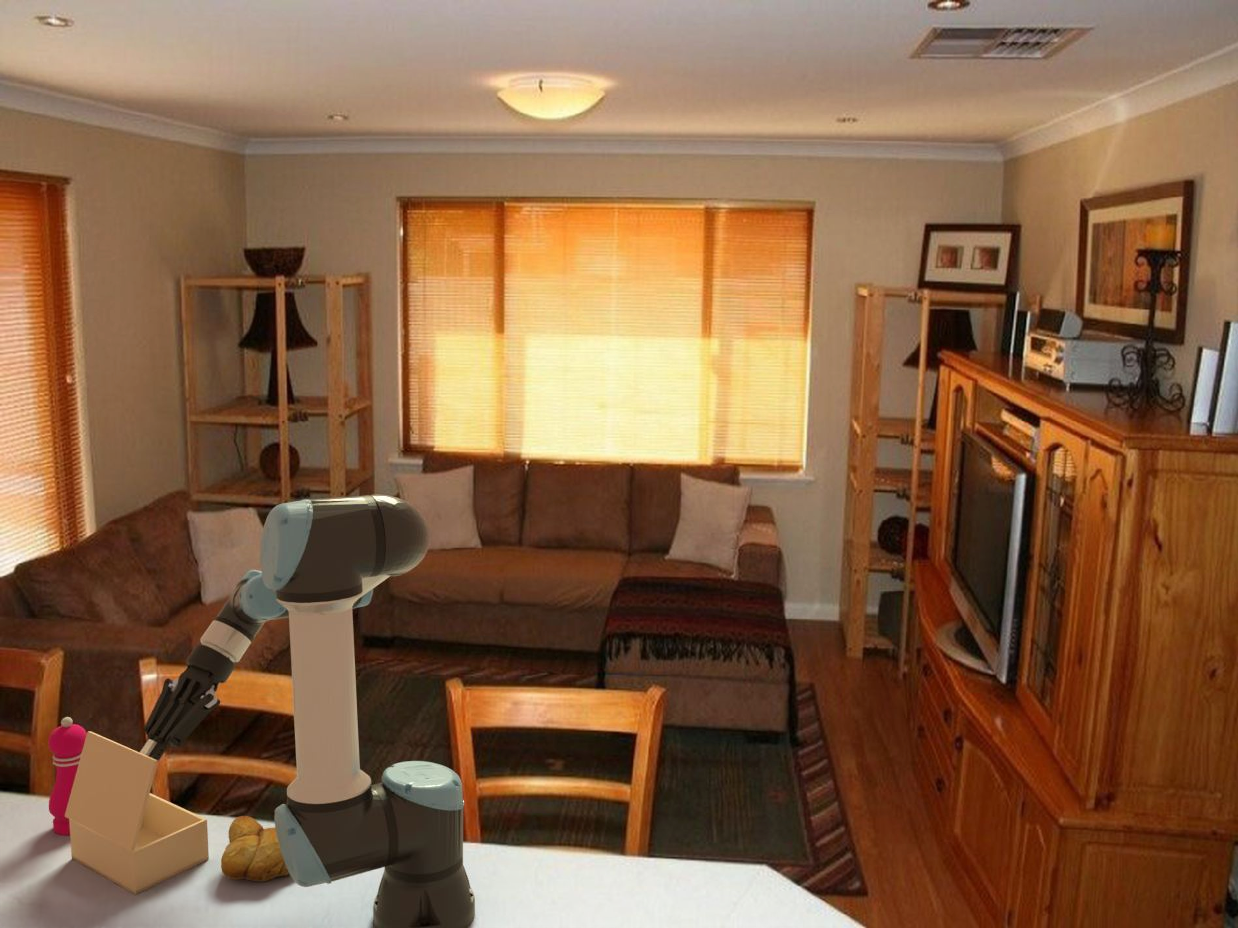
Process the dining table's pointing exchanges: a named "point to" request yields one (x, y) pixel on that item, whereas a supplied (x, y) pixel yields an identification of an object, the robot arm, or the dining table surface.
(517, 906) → the dining table surface
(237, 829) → the bread roll
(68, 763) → the pepper mill
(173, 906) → the dining table surface
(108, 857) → the mailer box
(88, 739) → the lid
